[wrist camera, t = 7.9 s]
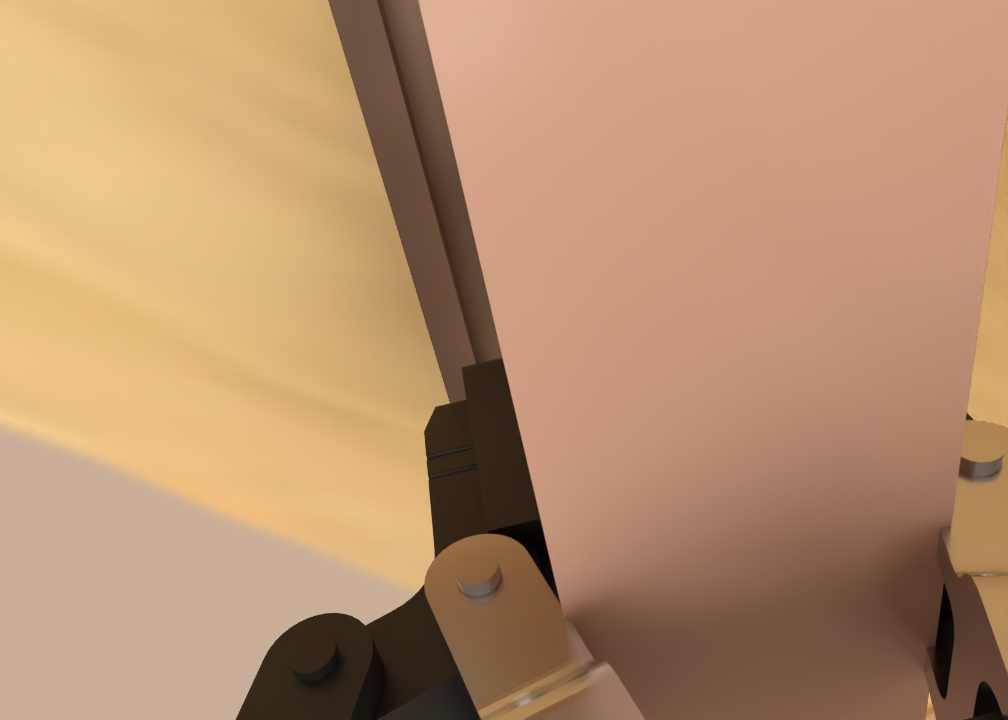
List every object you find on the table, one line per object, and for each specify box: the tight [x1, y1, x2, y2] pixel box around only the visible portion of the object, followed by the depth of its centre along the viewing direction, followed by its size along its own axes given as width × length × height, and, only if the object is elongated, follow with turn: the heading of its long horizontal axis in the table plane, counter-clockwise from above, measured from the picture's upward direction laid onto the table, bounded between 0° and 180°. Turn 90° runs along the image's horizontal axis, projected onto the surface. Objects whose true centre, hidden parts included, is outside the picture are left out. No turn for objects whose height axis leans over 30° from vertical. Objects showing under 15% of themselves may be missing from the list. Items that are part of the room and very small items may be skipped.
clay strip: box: [418, 0, 1008, 720], centre depth 12 cm, size 15×4×6 cm, turn 11°
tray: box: [328, 0, 502, 403], centre depth 23 cm, size 8×19×3 cm, turn 12°
